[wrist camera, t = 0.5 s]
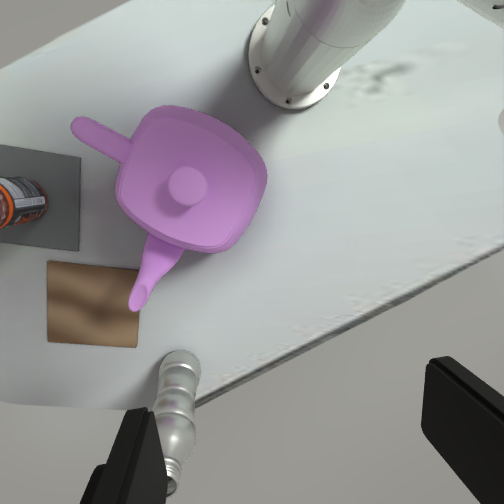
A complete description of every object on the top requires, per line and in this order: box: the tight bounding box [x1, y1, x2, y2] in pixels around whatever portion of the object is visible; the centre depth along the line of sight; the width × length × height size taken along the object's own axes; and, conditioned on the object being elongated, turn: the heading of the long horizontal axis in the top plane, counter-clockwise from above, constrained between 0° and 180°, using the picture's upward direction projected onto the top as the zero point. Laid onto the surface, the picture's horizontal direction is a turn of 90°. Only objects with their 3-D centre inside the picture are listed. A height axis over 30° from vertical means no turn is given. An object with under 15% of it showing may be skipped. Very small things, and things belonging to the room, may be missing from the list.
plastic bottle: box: [152, 350, 201, 499], centre depth 38 cm, size 6×7×20 cm
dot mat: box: [0, 145, 81, 251], centre depth 38 cm, size 13×13×1 cm
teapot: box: [71, 105, 267, 312], centre depth 33 cm, size 23×21×15 cm
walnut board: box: [47, 261, 140, 348], centre depth 43 cm, size 13×13×1 cm
